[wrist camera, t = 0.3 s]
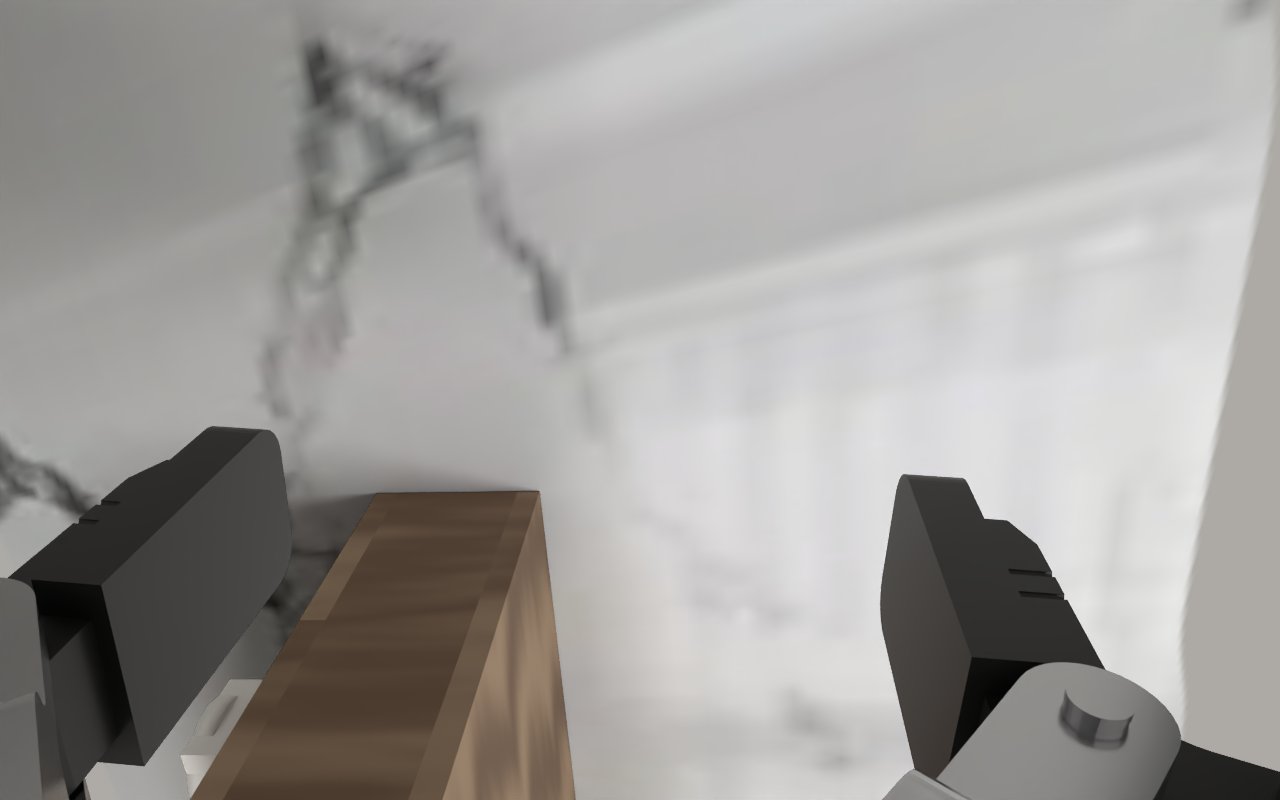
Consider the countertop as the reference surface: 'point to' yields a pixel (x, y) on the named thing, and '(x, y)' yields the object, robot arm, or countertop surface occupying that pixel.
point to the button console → (415, 667)
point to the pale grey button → (215, 728)
